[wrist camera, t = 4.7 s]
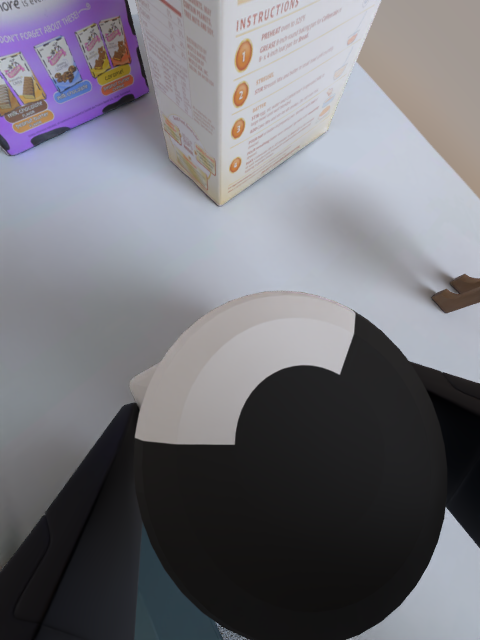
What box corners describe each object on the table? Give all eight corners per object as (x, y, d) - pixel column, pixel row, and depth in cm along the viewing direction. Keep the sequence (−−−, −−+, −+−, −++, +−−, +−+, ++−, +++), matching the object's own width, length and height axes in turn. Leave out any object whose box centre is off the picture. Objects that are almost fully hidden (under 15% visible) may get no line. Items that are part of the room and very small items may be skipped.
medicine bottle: (314, 420, 15) (600, 511, 4) (221, 491, 14) (243, 1009, 2) (255, 330, 17) (340, 202, 5) (164, 385, 15) (2, 369, 4)
